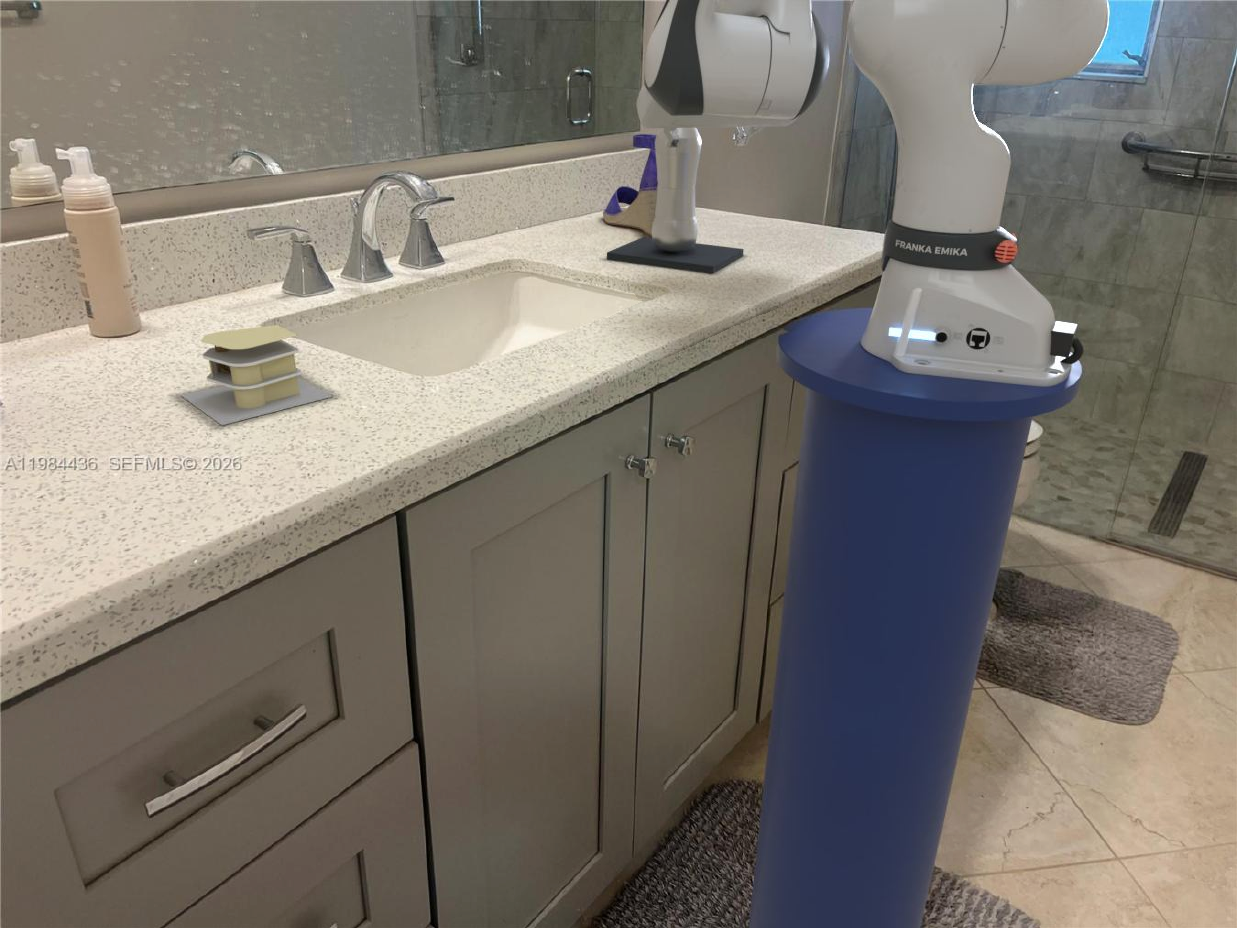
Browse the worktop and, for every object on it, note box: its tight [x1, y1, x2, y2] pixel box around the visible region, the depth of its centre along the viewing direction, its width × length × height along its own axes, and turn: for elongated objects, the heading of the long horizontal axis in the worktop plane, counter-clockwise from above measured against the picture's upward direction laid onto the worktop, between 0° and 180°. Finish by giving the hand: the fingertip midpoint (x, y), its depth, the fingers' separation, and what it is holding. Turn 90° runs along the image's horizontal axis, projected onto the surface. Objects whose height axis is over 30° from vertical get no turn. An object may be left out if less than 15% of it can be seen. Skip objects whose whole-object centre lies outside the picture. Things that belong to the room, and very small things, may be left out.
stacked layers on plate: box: [180, 324, 334, 426], centre depth 83 cm, size 10×9×6 cm
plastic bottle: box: [652, 128, 703, 252], centre depth 130 cm, size 6×7×20 cm
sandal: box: [602, 133, 658, 238], centre depth 151 cm, size 8×20×15 cm, turn 15°
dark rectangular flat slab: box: [606, 236, 745, 274], centre depth 135 cm, size 16×12×1 cm
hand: (704, 142), depth 121 cm, fingers open, 8 cm apart
